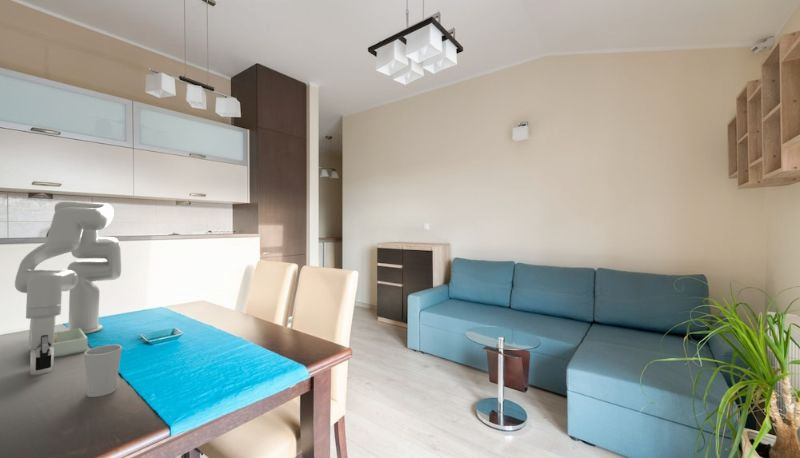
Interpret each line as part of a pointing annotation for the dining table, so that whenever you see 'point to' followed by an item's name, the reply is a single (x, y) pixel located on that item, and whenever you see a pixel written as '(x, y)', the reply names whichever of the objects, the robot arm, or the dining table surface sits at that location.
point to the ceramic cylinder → (33, 363)
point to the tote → (70, 342)
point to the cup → (102, 369)
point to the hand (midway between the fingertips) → (41, 364)
